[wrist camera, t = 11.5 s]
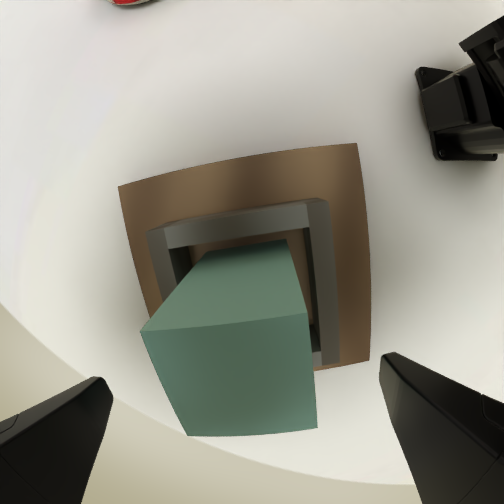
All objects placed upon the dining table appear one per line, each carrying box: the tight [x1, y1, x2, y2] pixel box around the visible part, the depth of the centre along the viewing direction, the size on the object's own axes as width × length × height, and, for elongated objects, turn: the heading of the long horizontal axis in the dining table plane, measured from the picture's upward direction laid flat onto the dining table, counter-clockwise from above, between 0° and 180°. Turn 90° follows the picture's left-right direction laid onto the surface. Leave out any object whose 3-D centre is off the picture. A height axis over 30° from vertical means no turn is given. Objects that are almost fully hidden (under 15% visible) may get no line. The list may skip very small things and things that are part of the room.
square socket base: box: [118, 143, 371, 371], centre depth 15 cm, size 14×14×4 cm
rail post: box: [140, 239, 318, 436], centre depth 12 cm, size 4×4×9 cm
